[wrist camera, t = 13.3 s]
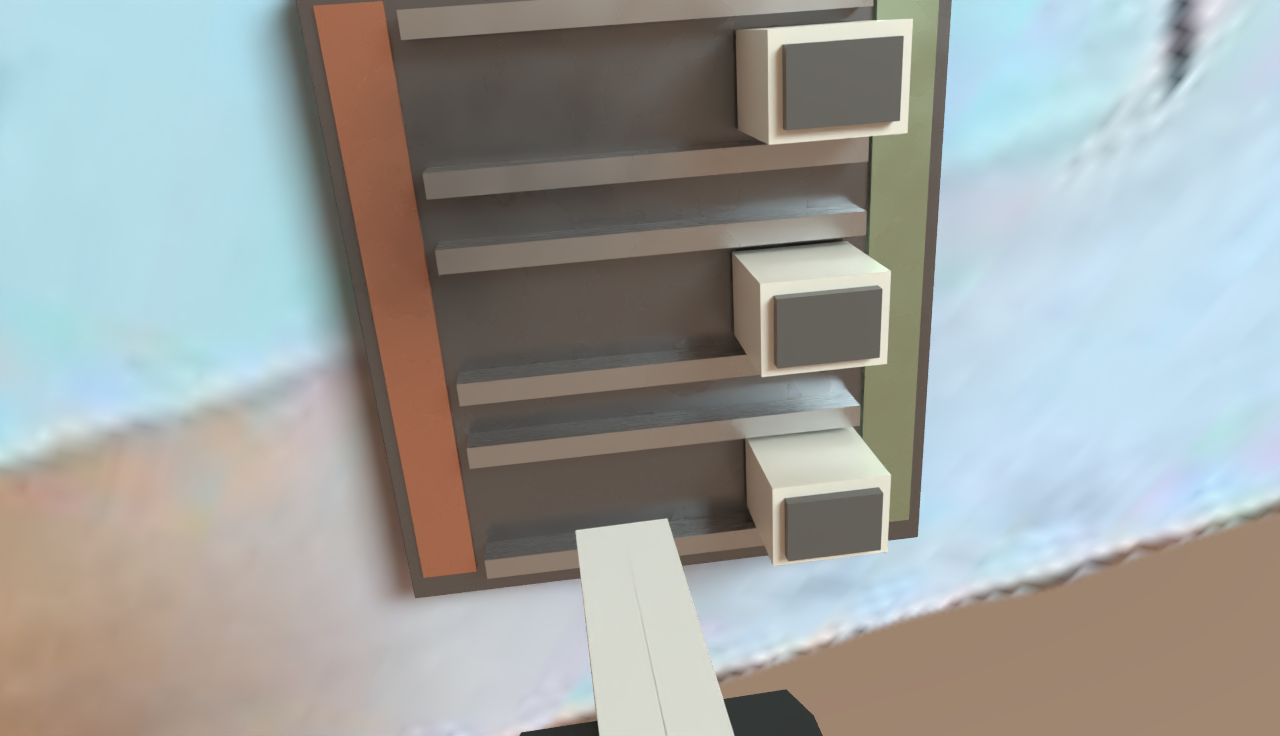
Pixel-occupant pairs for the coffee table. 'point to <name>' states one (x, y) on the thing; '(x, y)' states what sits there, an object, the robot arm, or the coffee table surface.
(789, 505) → the block
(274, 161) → the coffee table surface
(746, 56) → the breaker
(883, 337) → the block
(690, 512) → the panel
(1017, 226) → the coffee table surface
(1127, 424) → the coffee table surface
